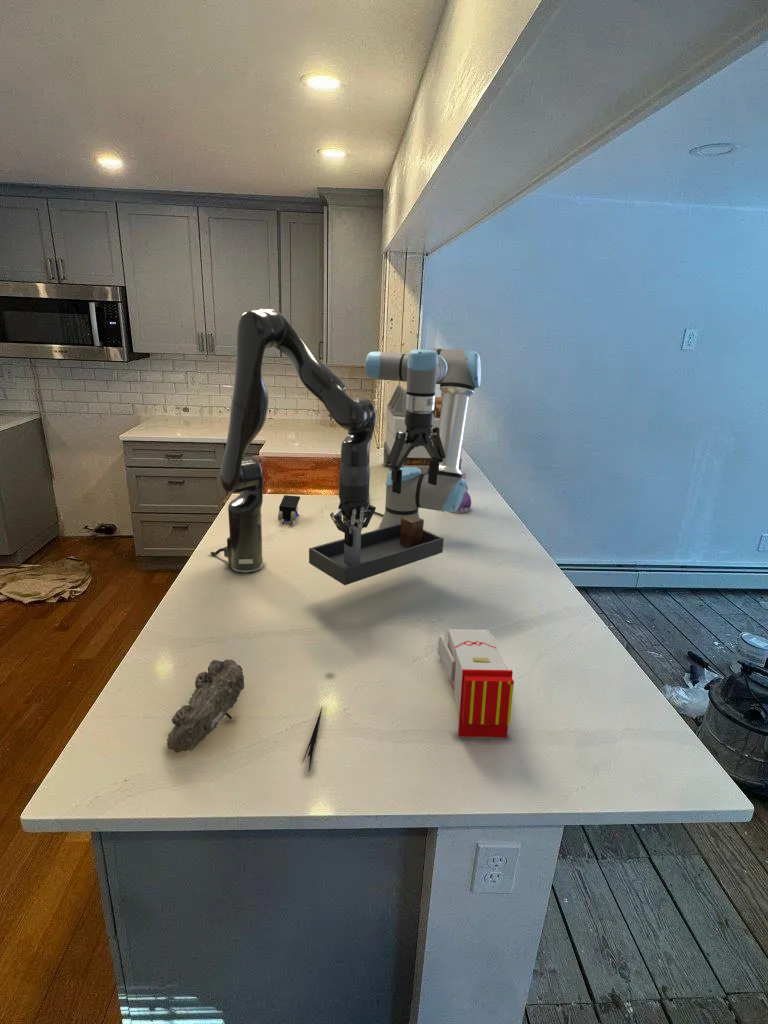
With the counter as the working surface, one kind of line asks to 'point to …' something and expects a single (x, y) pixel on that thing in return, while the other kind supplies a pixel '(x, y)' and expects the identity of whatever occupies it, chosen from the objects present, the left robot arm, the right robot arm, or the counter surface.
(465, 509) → the figurine
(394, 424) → the white wooden crate
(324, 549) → the tray
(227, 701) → the fossil
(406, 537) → the block
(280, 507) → the figurine character
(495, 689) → the toy
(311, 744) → the feather
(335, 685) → the counter surface
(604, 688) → the counter surface
